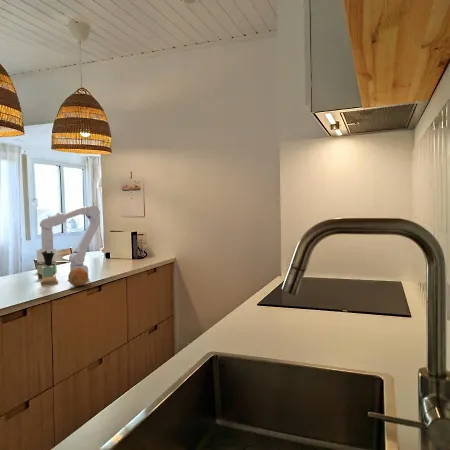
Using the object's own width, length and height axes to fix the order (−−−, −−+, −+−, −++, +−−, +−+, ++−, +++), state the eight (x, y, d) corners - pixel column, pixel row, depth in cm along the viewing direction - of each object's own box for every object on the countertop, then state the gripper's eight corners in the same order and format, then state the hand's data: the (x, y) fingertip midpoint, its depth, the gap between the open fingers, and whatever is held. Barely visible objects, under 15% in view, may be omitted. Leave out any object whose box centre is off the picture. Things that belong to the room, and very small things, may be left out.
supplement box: (57, 271, 262) (56, 248, 261) (44, 272, 255) (43, 250, 254) (50, 270, 267) (49, 248, 267) (37, 271, 260) (36, 249, 260)
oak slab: (55, 281, 213) (55, 276, 213) (42, 282, 211) (42, 277, 210) (56, 279, 219) (55, 274, 219) (43, 280, 217) (43, 275, 217)
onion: (90, 284, 211) (90, 265, 210) (84, 287, 201) (84, 268, 200) (72, 284, 210) (71, 266, 210) (65, 288, 200) (65, 268, 200)
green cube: (53, 276, 214) (53, 267, 213) (43, 277, 211) (43, 268, 211) (52, 275, 218) (51, 266, 218) (42, 276, 215) (41, 267, 215)
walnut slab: (58, 285, 213) (57, 280, 213) (41, 287, 209) (41, 282, 209) (56, 283, 220) (56, 278, 220) (40, 284, 216) (40, 280, 216)
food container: (61, 277, 235) (60, 260, 234) (55, 279, 229) (55, 262, 228) (41, 277, 236) (41, 261, 236) (35, 279, 230) (35, 262, 230)
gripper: (38, 240, 218) (39, 264, 219) (40, 241, 206) (41, 267, 206) (52, 239, 222) (52, 263, 222) (54, 240, 209) (55, 266, 210)
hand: (48, 265), depth 215 cm, fingers open, 7 cm apart
